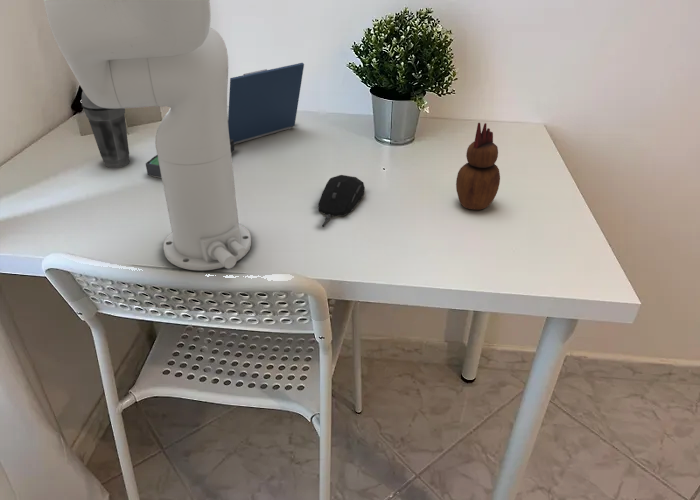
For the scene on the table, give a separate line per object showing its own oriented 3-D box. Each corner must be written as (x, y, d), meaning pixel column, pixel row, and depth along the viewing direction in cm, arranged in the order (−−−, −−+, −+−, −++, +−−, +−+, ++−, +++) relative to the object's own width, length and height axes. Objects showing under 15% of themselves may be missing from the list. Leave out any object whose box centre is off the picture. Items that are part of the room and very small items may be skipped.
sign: (304, 64, 113) (290, 50, 115) (231, 79, 105) (217, 65, 107) (294, 128, 124) (281, 114, 126) (228, 146, 116) (215, 132, 118)
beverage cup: (143, 155, 112) (122, 49, 101) (127, 172, 106) (103, 61, 95) (107, 153, 112) (81, 47, 101) (89, 170, 106) (60, 59, 95)
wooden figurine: (463, 216, 95) (475, 129, 86) (448, 199, 99) (459, 115, 91) (500, 211, 96) (516, 125, 88) (485, 194, 101) (498, 111, 92)
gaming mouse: (304, 223, 92) (303, 201, 90) (335, 182, 104) (335, 162, 101) (341, 230, 90) (342, 208, 88) (369, 188, 102) (370, 167, 100)
